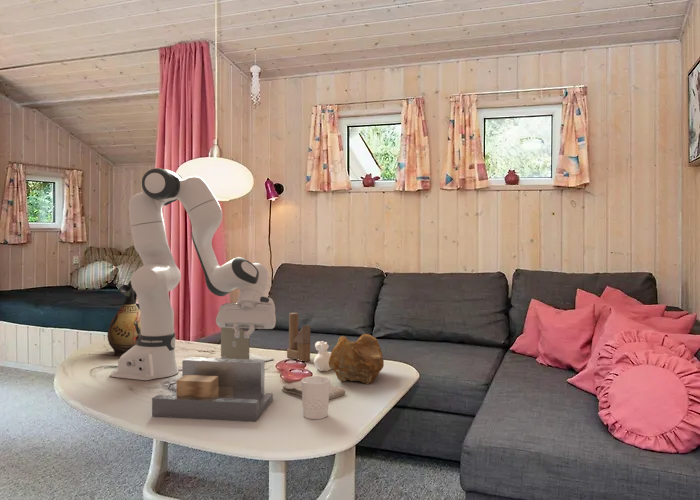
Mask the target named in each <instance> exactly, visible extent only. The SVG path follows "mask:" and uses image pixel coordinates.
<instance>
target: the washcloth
mask: <svg viewBox="0 0 700 500" xmlns="http://www.w3.org/2000/svg"><path fill="white" fill-rule="evenodd" d="M281 391H282V392H284V393H285V394H287V395H290V396H294V397H297V398H300V399H302V379H301V380H299V381H295V382H289V383H286V384H284V385H282V388H281ZM345 394H346V390H345V389H344V388H343V387H340V386H337V385H333V384H330V389H329V401H331V400H332V399H336V398H338V397H341V396H344V395H345Z"/></svg>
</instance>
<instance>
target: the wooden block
mask: <svg viewBox="0 0 700 500" xmlns="http://www.w3.org/2000/svg"><path fill="white" fill-rule="evenodd" d="M288 315H289V316H288V317H289V319H288V325H289V326H288V348H287V349H286V357H287V358H289V359H291V358H293V359H292V360H294V359H299V360H302V361H305V362H304V363H307V362H310V361H311V325H303V326H302V327H301V329H300V330H299V313H298V312H289V313H288Z"/></svg>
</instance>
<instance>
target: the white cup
mask: <svg viewBox="0 0 700 500" xmlns="http://www.w3.org/2000/svg"><path fill="white" fill-rule="evenodd" d="M301 380H302V398H301V401H302V412H303V413H302V414H303V417H304V418H306V419H309V420H322V419H325V418H326V417H327V416H328V408H329V404H330V403H329V401H330V400H329V389H330V385H331V380H330V378H329V377H327V376H321V375H313V376H305V377H303V378H301Z"/></svg>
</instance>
